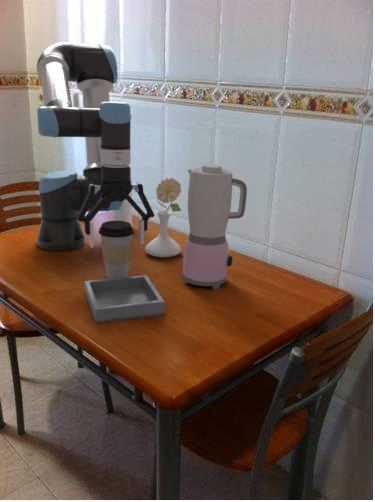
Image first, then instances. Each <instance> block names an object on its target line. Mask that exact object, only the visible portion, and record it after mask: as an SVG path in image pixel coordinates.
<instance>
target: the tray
mask: <svg viewBox="0 0 375 502" xmlns="http://www.w3.org/2000/svg"><path fill="white" fill-rule="evenodd" d="M84 292H85V293H84V294H85V296H86V300H87V302H88V306H89V309H90V311H91V314H92V317H93V320H94V323H95V324H104V323H110V322H111V323H112V322H119V321H128V320H134V319H143V318H151V317H157V316H164V315H165V300H164V299H163V297H162V295H160V293H159V291H158V290H157V289H156V287H155V285H154V284H153V283H152V281H151V280H150V278H149V277H148V274H147V275H146V274H144V275H143V274H141V275H134V276H133V275H132V276H128V277H121V278H111V279H108V278H102V279H94V280H93V279H92V280H91V279H90V280H84Z"/></svg>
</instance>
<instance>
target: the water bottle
mask: <svg viewBox="0 0 375 502" xmlns="http://www.w3.org/2000/svg"><path fill="white" fill-rule="evenodd" d="M128 166H130V164H129V165H128ZM131 184H133V179H132V178H131ZM129 196H130V197H131V198H132V199H133V190H132V191H131V192H130V194H129ZM132 208H133V206H132V205H131V204H130V203H129V202H128V201H127V200H126V199H125V200H124V201H123V204H122V207H121V208H120V209H119V210H114V211H112V221H125V222H128V223H130V224H131V227H132V228H133V218H132V217H133V211H132Z"/></svg>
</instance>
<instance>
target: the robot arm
mask: <svg viewBox="0 0 375 502" xmlns="http://www.w3.org/2000/svg"><path fill="white" fill-rule="evenodd" d="M36 72H37V76H38V78H39V80H40V82H41V87H42V88H41V91H42V100H43V106H39V107H38V108H37V111H36V112H37V113H36V114H37V127H38V134H39V135H40V136H42V137H46V138H47V137H49V138H85V149H86V150H85V151H86V166H85V167H84V168H83V170H82V175H78V173H77V171H76V170H67V169H66V170H59V171H56V170H55V171H53V172H52V171H51V172H48V173H46V174H44V175H41V177H40V178H39V184H38V189H39V190H38V193H39V201H40V202H39V203H40V218H41V222H40V226H39V229H38V233H37V237H36V242H37V243H36V244H37V246H38V247H39V248H40V249H43V250H46V251H54V252H55V251H59V252H60V251H62V252H64V251H70V250H71V251H72V250H75V249H78V248H81V247H83V246H84V245H85V242H86V236H85V235H87V236H88V244H89V247H90V248H95V247H94V246H95V244H94V243H95V242H94V222H93V221H92V220H93V219H94V218H95V217H96V216H97V214H98V213H99V212H108V213H109V212H113V211H114V210H119V209H120V208H121V207H122V204H123V201H124V200H125V199H126V200H127V201H128V202H129V203H130V204H131V205H132V208H134V210H135V212H137V213H138V215H140V217H139V218H138V242H139V243H140V244H142V245H143V244H145V232H147V231H148V221H149V219H151V218H154V217H155V213H154V211H153V209H152V207H151V204H150V203H149V201H148V199H147V196H146V195H145V193H144V185H143V184H142V183H141V182H136V183H132V184H131V179H132V176H131V173H132V171H131V170H132V169H131V168H132V167H131V166H130V164H131V162H132V161H131V159H132V157H131V128H132V127H131V125H132V124H131V122H132V121H131V120H132V114H131V106H130V104H129V103H128V102H125V101H124V102H122V101H110V100H111V99H110V92H111V91H112V90H113V89H114V84H117V81H118V74H119V73H118V65H117V58H116V55H115V52H114V50H113V48H112V47H111V46H110V45H107V44H106V45H104V44H100V43H95V44H94V43H81V42H79V43H78V42H67V41H66V42H65V41H63V42H57V43H55V44H52V45H50V46H49V47H48V48H46V49H44V51H42V53H41V54H40V56H39V57H38V59H37V63H36ZM69 82H74V83H75V82H76V87H77V90H79V91H80V92H81V93H82V105H83V107H76V106H74V107H73V101H72V96H71V90H70V86H69ZM128 165H129V166H128ZM133 190H134V192H136V193H137V195H138V197H139V199H140V201H141V204H142V206H143V207H144V209H145V211H146V212H144V210H143V209H142V208H141V207H140V206H139V205H138V204H137V202H136V201H134V199H133V197H132V198H131V197H130V196H129V194H130V192H131V191H132V192H133ZM81 222H82V223H84V230H83V227H82V225H81ZM84 233H85V234H84Z"/></svg>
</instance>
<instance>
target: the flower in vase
mask: <svg viewBox="0 0 375 502" xmlns="http://www.w3.org/2000/svg"><path fill="white" fill-rule="evenodd" d="M155 192H156V199H157V203H158V204H159V205H160V206H162V207H163V208H165V209H166V210H165V209H160V210H159V209H158V210H156V215H157V216H158V219H159V226H160V229H159V234H158V236H156V237H155V238H154V239H152V240H150V242H148V244H147V245H145V248H144V249H145V252H146V253H147V254H149V255H151V256H152V257H153V256H154V257H157V258H171V257H175V256H177V255H179V254H180V253H181V251H182V248H181V245H180V244H178V242H176V241H175V240H174V239H173V238H171V237H170V236H169V233H168V224H169V219H170V217H171V215H173V212H181V211H182V209H181V207H180V205H179V204H178V203H177V202H175V201H176V200H177V198H179V197H180V194H181V193H182V186H181V183H180V181H178V180H176V179H175V178H173V177H170V178H168V177H166V178H165V179H162V180H161V181H160V182H159V183H158V185H157V186H156V189H155ZM174 202H175V203H174ZM169 203H170V204H169ZM165 204H169V206H168V207H167V206H166V205H165ZM170 208H171V210H172V211H171V210H169V209H170Z"/></svg>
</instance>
